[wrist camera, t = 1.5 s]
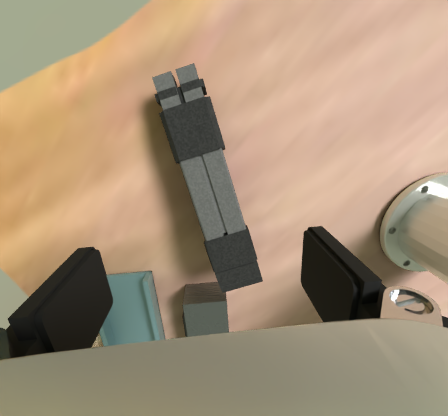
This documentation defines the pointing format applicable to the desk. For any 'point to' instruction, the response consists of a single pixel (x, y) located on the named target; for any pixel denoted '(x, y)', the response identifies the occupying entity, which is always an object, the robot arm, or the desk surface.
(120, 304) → the cradle tray
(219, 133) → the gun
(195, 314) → the block
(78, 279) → the robot arm
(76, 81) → the desk surface
